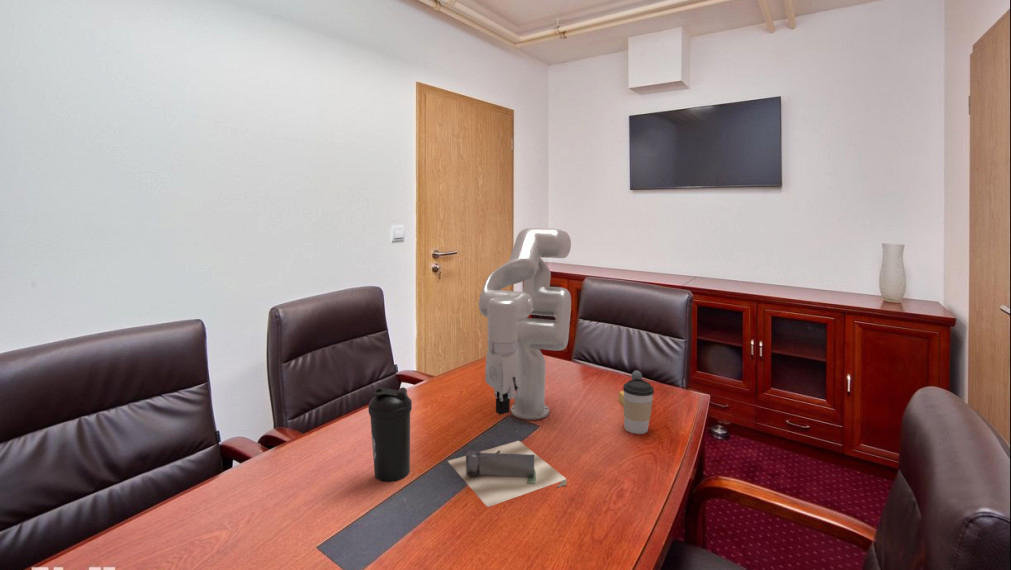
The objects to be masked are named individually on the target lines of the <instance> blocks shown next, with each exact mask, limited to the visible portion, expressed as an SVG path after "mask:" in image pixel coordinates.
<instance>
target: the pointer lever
mask: <svg viewBox="0 0 1011 570" xmlns="http://www.w3.org/2000/svg"><path fill="white" fill-rule="evenodd" d="M480 452H481V451H479V450H473V449H472V450H469V451H466V452H465V456H466V475H468V476H470V477H476V476H478V475H499V476H523V477H534V455H527V454H500V453H480Z"/></svg>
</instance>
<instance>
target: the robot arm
mask: <svg viewBox="0 0 1011 570" xmlns="http://www.w3.org/2000/svg"><path fill="white" fill-rule="evenodd" d="M571 246H572V240H571V236H570V234H569V233H568V232H566V231H564V230H561V229H560V228H559V229H558V228H545V227H544V228H540V227H539V228H538V227H530V228H524V229H522V230H520V231H519V233H518V234H517V236H516V239H515V241H514V245H513V247H512V251H511V253H510V257H509V260H508V261H507V262H506V263H504V264H502V265H500V266H499V267H497V268H496V269H495V270H494V271H493V272H491V273H490V274H489V275H488V276H487V277H486V279H485V281H484V284H483V287H482V290H481V293H480V295H479V298H478V310H479V312H480V314H481V315H482V316H484V317H486V318H487V351H486V356H485V370H484V371H485V372H484V374H485V375H484V376H485V377H484V378H485V382H486V384H487V385H488V386H490V387H491V388H492V389H494V398H495V412H496V414H498V415H499V416H501V415H506V414H508V413H510V412H511V414H512V415H513V417H516V418H518V419H521V420H528V421H533V420H540V419H544V418H545V417H546V418H547V416H548V415H549V413H550V408H549V406H547V405H546V404H545V393H546V390H545V389H546V359H545V356H544V354H543V353H542V351H541V350H545V351H546V350H548V351H558V352H559V351H560V352H561V351H564V350H565V349H566V348H567V346H568V343H569V338H570V337H569V335H570V326H571V324H570V323H571V311H572V296H571V293H570V291H569V290H568V289H567V288H565V287H560V286H550V285H551V277H552V274H551V273H552V272H551V269H550V268H549V266H548V265H547V264H546V262H545V261H544V260H543V258H546V259H547V258H550V259H551V258H552V259H565V258H566V257H568V256H569V255H570V252H571ZM522 282H523V290H522V291H517V290H516V291H515V290H503V289H504V288H507V287H509V286H513V285H517V284H520V283H522ZM530 315H535V316H544V317H554V319H544V318H535V317H534V318H529V316H530ZM511 399H514V404H512V405H511V406H510V404H511V403H510V402H511Z"/></svg>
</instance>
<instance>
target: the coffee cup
mask: <svg viewBox="0 0 1011 570" xmlns="http://www.w3.org/2000/svg"><path fill="white" fill-rule="evenodd" d="M654 390H655V388H654V387H653V386H652V385H651V383H649V382H648V381H645V380H643V378H642V379H633V380H632V379H630V380H628V381H627V382H626V383H624V384H623V387H622V391H624V396H623V398H624V406H623V418H624V419H623V420H624V429H625V430H626V432H629V433H631V434H636V435H643V434H646V433H648V432H649V431H648V430H649V424H650V419H651V413H652V406H653V401H654V400H653V398H652V397H653V396H654V394H655V393H654V392H655V391H654Z"/></svg>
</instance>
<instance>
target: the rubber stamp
mask: <svg viewBox="0 0 1011 570" xmlns="http://www.w3.org/2000/svg"><path fill="white" fill-rule="evenodd" d="M633 379H642V380H643V374H642V373H641V371H639V370H634V371H633V372H632V373H631V380H633ZM623 396H624V390H620V391H619V393H618V402H619V403H620V404H621V405H622V406H623V407H624V398H623ZM652 399H653V397H652Z"/></svg>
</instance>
